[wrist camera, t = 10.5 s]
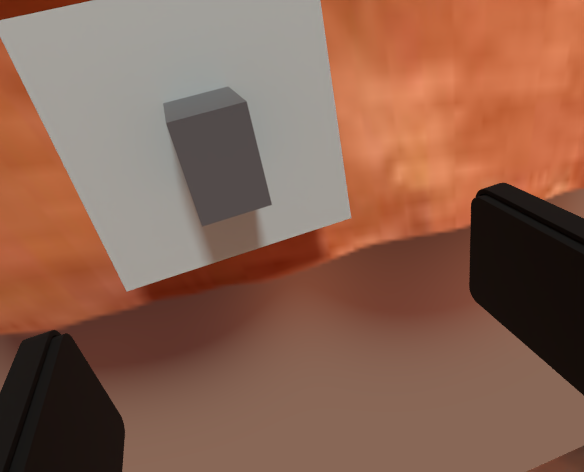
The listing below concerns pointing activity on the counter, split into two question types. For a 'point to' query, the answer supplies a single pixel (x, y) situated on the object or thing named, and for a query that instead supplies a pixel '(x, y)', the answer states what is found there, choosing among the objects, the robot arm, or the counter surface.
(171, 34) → the lid
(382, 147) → the counter surface
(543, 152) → the counter surface
